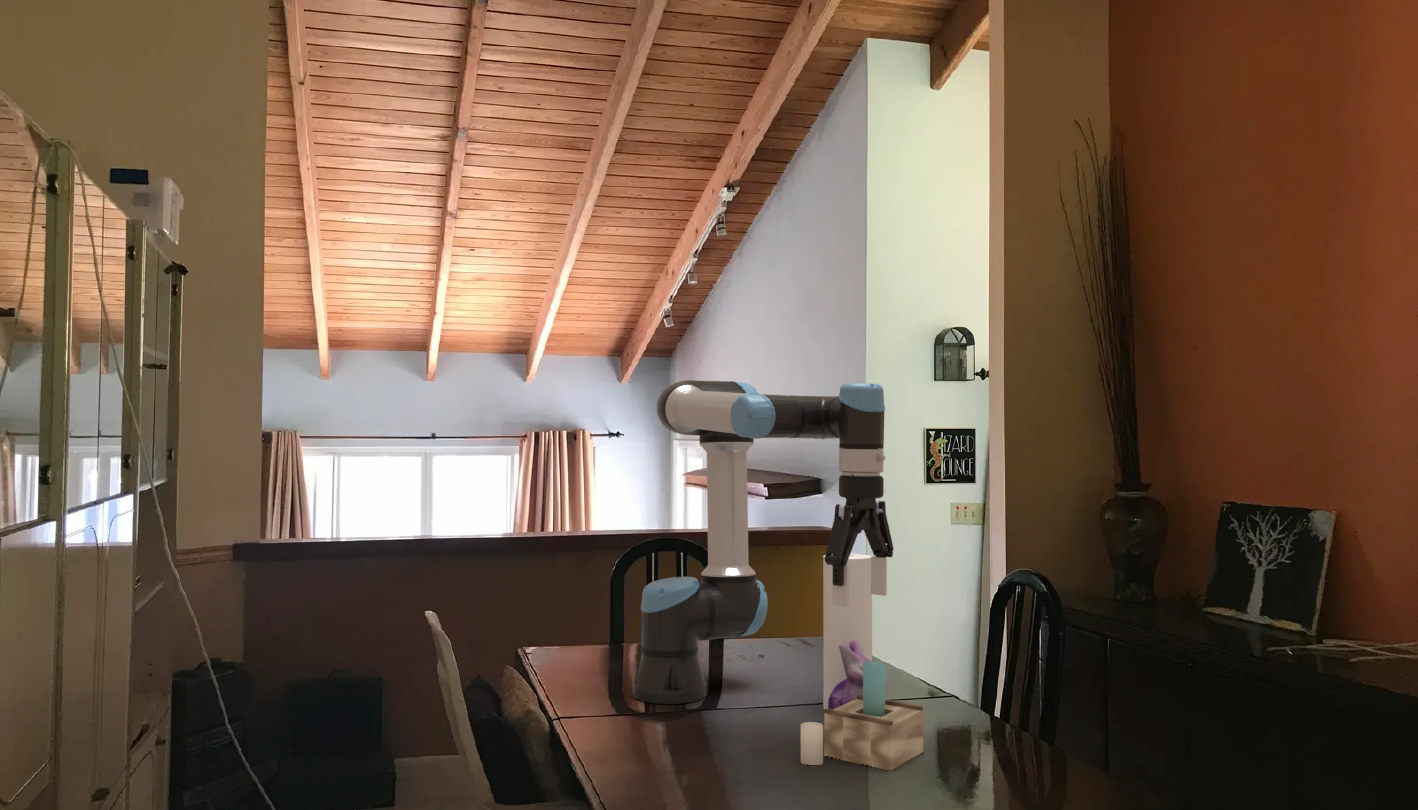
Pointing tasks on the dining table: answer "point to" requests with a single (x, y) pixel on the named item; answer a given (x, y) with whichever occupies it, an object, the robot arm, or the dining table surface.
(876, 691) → the teal peg
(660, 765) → the dining table surface
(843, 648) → the figurine
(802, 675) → the dining table surface
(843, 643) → the cylinder container
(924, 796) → the dining table surface
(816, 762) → the cream peg
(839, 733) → the socket block
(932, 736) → the dining table surface
